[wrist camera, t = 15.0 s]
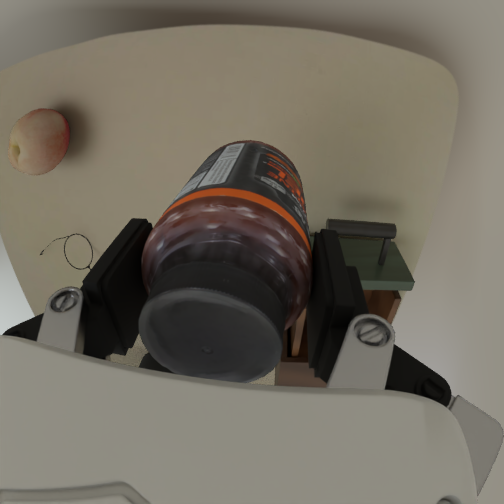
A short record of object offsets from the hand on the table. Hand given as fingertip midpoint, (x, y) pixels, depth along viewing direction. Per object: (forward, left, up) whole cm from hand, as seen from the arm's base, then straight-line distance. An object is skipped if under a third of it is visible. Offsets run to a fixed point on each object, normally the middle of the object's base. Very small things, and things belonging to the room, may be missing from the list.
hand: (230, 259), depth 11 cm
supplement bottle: (0, 0, -7) cm, 7 cm away
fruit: (+20, -16, -22) cm, 34 cm away
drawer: (+1, +19, -21) cm, 28 cm away
